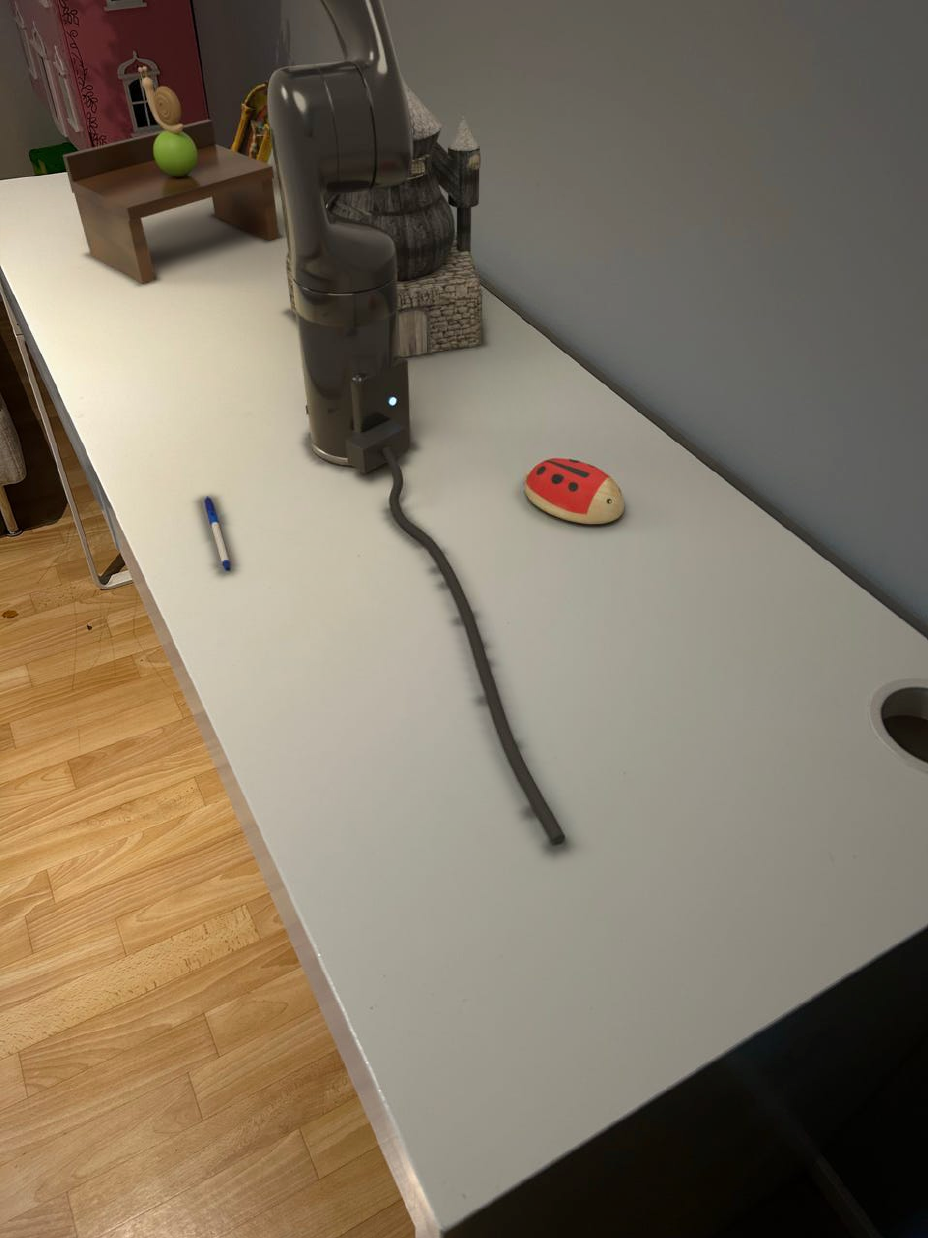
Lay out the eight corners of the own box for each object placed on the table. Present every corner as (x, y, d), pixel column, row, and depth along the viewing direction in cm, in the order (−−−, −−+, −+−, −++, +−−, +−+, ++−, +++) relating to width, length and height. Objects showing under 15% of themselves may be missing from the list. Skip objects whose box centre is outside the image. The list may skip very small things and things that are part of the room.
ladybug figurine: (606, 539, 82) (611, 506, 80) (507, 505, 86) (509, 473, 83) (635, 500, 87) (640, 468, 84) (539, 469, 90) (542, 438, 88)
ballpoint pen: (202, 503, 86) (200, 494, 85) (212, 501, 86) (210, 492, 86) (224, 572, 79) (222, 563, 78) (235, 570, 79) (233, 561, 78)
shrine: (283, 176, 150) (270, 70, 140) (294, 193, 144) (282, 84, 134) (210, 184, 147) (192, 76, 137) (219, 201, 141) (201, 91, 131)
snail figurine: (177, 163, 125) (158, 62, 117) (209, 174, 122) (192, 70, 114) (144, 174, 122) (122, 70, 114) (176, 185, 119) (156, 79, 111)
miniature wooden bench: (281, 238, 131) (269, 141, 123) (145, 284, 120) (121, 181, 111) (223, 211, 138) (207, 118, 130) (88, 253, 127) (62, 154, 118)
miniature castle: (317, 370, 104) (283, 64, 83) (289, 308, 115) (254, 25, 95) (507, 342, 109) (519, 48, 89) (463, 285, 120) (465, 12, 100)
